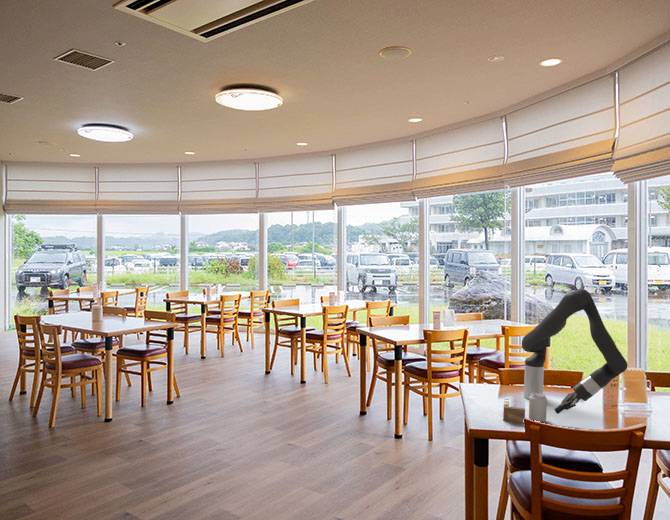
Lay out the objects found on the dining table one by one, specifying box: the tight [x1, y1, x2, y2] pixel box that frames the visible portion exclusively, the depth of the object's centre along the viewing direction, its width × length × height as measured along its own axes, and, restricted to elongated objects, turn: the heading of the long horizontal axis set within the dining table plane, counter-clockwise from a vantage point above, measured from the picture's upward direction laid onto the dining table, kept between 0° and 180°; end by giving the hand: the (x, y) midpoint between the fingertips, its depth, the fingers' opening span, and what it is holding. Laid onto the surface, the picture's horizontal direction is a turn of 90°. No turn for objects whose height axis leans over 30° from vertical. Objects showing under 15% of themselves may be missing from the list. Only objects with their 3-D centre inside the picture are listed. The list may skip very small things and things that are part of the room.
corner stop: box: [502, 398, 526, 424], centre depth 232 cm, size 14×9×7 cm, turn 160°
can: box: [528, 393, 548, 423], centre depth 229 cm, size 8×8×12 cm
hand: (555, 411), depth 226 cm, fingers closed
